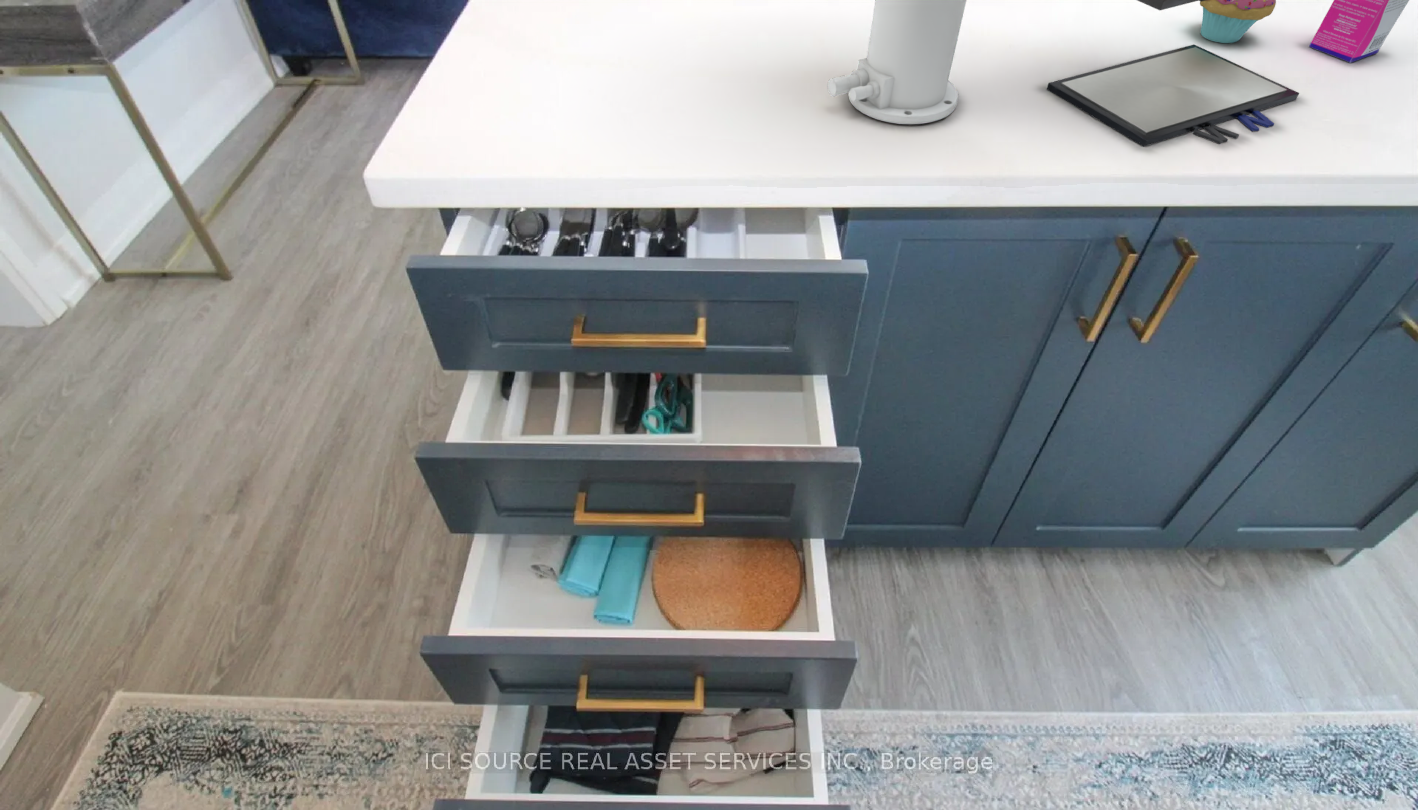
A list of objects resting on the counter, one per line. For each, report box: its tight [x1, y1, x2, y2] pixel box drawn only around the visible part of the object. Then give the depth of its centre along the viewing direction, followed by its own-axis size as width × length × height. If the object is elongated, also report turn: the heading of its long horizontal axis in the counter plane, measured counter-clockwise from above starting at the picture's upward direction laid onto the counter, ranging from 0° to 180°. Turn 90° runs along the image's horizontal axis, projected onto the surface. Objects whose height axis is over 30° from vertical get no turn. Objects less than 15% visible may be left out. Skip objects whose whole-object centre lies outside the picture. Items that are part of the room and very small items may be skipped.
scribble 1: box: [1192, 124, 1240, 145], centre depth 83 cm, size 4×3×1 cm
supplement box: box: [1309, 0, 1410, 64], centre depth 92 cm, size 6×6×12 cm
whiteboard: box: [1046, 43, 1300, 147], centre depth 89 cm, size 24×15×1 cm, turn 115°
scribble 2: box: [1236, 110, 1275, 132], centre depth 84 cm, size 4×3×1 cm
